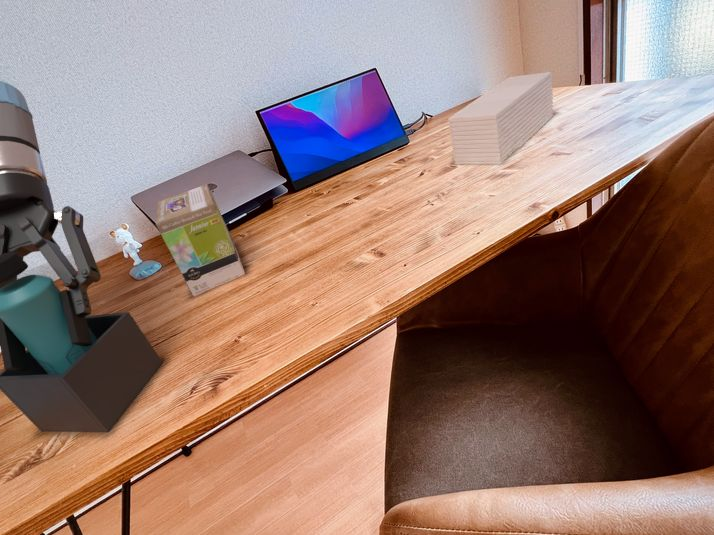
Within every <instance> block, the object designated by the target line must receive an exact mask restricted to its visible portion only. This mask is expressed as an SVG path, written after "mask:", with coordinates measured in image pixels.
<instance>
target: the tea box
mask: <svg viewBox="0 0 714 535" xmlns="http://www.w3.org/2000/svg"><path fill="white" fill-rule="evenodd" d="M213 195H214V194H213V193H212V192H211V189H210V187H209V185H208V184H203V185H201V186H197V187H195V188H193V189H189V190H187V191H184V192H181V193H179V194H176V195H173V196H170V197H168V198H164V199H162V200H160V201H158V202H157V209H156V217H155V218H156V219H155V227H156V228H157V230H158V232H159V233H160V235H161V237H162V240H163V241H164V243H165V245H166V247H167V249H168V251H169V252H170V254H171V256H172V259H173V260H174V262H175V264H176V266H177V268H178V270H179V272H180V273H181V275H182V277H183V279H184V281H185V283H186V285H187V287H188V289H189V291H190V292H191V295H192V296H193V297H197V296H199V295H201V294H203V293H206V292H208V291H210V290H212V289H214V288H217V287H219V286H221V285H224V284H226V283H229V282H231V281H234V280H235V279H238V278H240V277H242V276H245V275H246V273H245V270H244V266H243V264H242V261H241V258H240V255H239V253H238V250H237V248H236V245H235V242H234V240H233V237H232V236H231V234H230V233H231V232H230V231H229V229H228V226H227V225H226V222H225V220H224V217H223V215H222V213H221V210H220V208H219V206H218V204H217V202H216V199H215V198H214V196H213Z"/></svg>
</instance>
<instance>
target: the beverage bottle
mask: <svg viewBox="0 0 714 535" xmlns="http://www.w3.org/2000/svg"><path fill="white" fill-rule="evenodd" d="M28 268H29V264H28V263H27V262H26V261H25V260H24V258H23V259H22V258H21V257H20V256H19V255H18V254H17V253H16V252H8V253H5V254H2V255H0V283H3V282H5V281H7V280H10V279H12V278H14V277H16V276H17V277H18V276H20V275H21V274H22V273H24V272H25V271H26V270H27V269H28ZM60 291H61V290H60V288H59V287H58V286H57V285H56V283H55V281H54V280H53V278H52V277H50V276H46V275H40V274H29V275H25V276H22V277H19V278H17V280H15V281H13V282H11V283H9V284H7V285H5V286H4V287H2V288H1V289H0V318H1V319H2V321H3V322H4V323H5V324H6V325H7V326H8V327H9V329H10V330H11V331H12V332H13V333H14V334H15V336H16V337H17V338H18V339H19V340H20V341H21V342H22V344H23V345H24V346H25V350H26V351H27V350H28V351H29V352H30V354H31V355H32V356H33V357H34V358H35V360H37V362H38V363H39V364H40V365H41V366H42V367H43V371H44V369H45V371H46V372H47V373H48V374H63V373H64V372H65V371H66V370H67V369H68V368H69V367H70V366H71V365H72V364H73V363H74V362H75V361H76V360H77V359H78V358H79V357H80V356H81V355H82V354H83V353H84V352H85V351H86V350H87V349H88V348H89V347H90V346H91V345H89V346H87V347H84V346H79V345H74V344H72V342H71V338H70V334H69V330H68V326H67V321H66V317H65V313H64V309H63V305H62V301H61V296H60ZM87 325H88V324H87ZM88 326H89V325H88ZM88 329H89V328H88ZM91 330H92V329H91V328H90V329H89V333H90V337H91V341H92V344H93V343H95V342H96V341H97V339H98V338H97V337H95V336H94V333H92V332H91ZM27 353H28V352H27ZM35 362H36V361H35ZM45 371H44V372H45Z"/></svg>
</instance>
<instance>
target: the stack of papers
mask: <svg viewBox="0 0 714 535" xmlns="http://www.w3.org/2000/svg"><path fill="white" fill-rule="evenodd" d="M553 99H554V98H553V71H545V72H537V73H531V74H524V75H516V76H509V77H507V78H505V79H504V80H503V81H501V82H499V83H498V84H497V85H495V86H494V87H492V88H490V89H489V90H488V91H486V92H485V93H484V94H482V95H480V96H479V97H477V98H475V100H473V101H472V102H470V103H469V104H467V105H466V106H464V107H462V108H461V109H460V110H459V111H457V112H454V114H452V115H451V116H449V117H448V119H447V120H448V125H449V126H448V127H449V132H450V133H449V134H450V140H451V147H452V148H451V149H452V156H453V161H454V164H455V165H472V164H476V165H479V164H481V165H482V164H483V165H484V164H485V165H486V164H487V165H488V164H489V165H495V164H497V165H498V164H502V163H503V162H504V161H505V160H506V159H507V158H508V157H510V155H511V154H513V153H514V152H515V151H516V150H517V149H520V148H522V147H523V146H524V145H525V143H526V142H528V141H529V140H530V139H531V138H532V137H533V136H534V135H535V134H536V133H537V132H538V131H539V130H540V129H541V128H542V127H543V126H544V125H545V124H546V123H548V122H549V121H550V120H551V119H552V118H553V117H554V109H553V108H554V102H553Z"/></svg>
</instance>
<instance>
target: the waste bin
mask: <svg viewBox="0 0 714 535" xmlns="http://www.w3.org/2000/svg"><path fill="white" fill-rule="evenodd" d="M85 317H86V321H87V324H88V325H89V326H88V328H89V329H90V328H91V329H92V330H91V332H92V333H94V336H95V337H97V338H98V339H97V341H96V342H95V343H93V344H92V345H91V346H90V347H89V348H88V349H87V350H86V351H85V352H84V353H83V354H82V355H81V356H80V357H79V358H78V359H77V360H76V361H75V362H74V363H73V364H72V365H71V366H70V367H69V368H68V369H67V370H66V371H65V372H64V373H63V374H48V373H47V372H46V371H45V369H44V371H45V372H44V371H43V367H42V366H41V365H40V364H39V363H38V362H37V360H35V358H34V357H33V356H32V355H31V354H30V352H29V351H28V350H27V349H26V354H27V359H28V364H29V369H28V370H25V371H10V370H5V368H4V369H3V370H2V371H0V391H1V392H2V393H3V394H4V395H5V396H6V398H8V399H9V400H10V401H11V402H12V403H13V405H14V406H16V408H17V409H18V410H19V411H20V412H21V413H22V414H23V415H24V416H25V417H26V418H27V419H28V420H29V421H30V422H31V423H32V424H33V425H34V426H35V427H36V428H37V429H38V431H40V432H42V433H44V432H45V433H46V432H49V433H110V432H111V431H112V430H113V428H114V427H115V426H116V424H118V422H119V421H120V419H121V418H122V417H123V415H124V414H125V413H126V411H128V409H129V408H130V406H131V405H132V404H133V403H134V401H135V400H136V399H137V398H138V396H139V395H140V394H141V393H142V391H143V390H144V388H145V387H146V386H147V385H148V383H149V382H150V381H151V380H152V378H153V377H154V376H155V375H156V373H157V372H158V371H159V370H160V368H161V367H162V365H163V364H164V362H163V361H162V359H161V357H160V356H159V355H158V353H157V352H156V350H155V349H154V347H153V346H152V344H151V343H150V341H149V340H148V339H147V337H146V335H145V334H144V332H143V331H142V330H141V327H139V325H138V323H137V322H136V320H135V319H134V317H133V316H132V314H131V313H130V311H123V312H113V313H103V314H93V315H92V314H90V315H87V316H85ZM27 352H28V353H27ZM35 361H36V362H35Z"/></svg>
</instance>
